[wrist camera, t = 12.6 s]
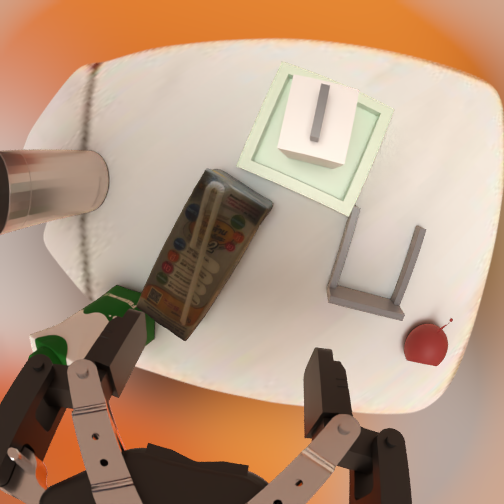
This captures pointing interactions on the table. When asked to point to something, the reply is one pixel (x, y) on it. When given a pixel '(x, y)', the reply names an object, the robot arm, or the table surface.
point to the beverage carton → (202, 251)
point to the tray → (306, 174)
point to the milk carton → (86, 327)
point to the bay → (366, 300)
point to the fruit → (426, 344)
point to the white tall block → (318, 122)
